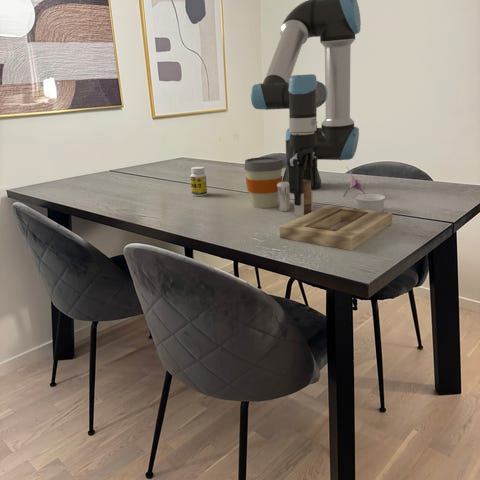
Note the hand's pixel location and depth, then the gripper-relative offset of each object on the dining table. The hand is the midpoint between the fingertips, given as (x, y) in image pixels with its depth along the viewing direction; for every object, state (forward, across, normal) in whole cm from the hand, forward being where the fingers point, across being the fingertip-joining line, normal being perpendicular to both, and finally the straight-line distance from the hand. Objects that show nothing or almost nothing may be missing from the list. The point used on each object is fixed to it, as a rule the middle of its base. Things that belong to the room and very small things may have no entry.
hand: (303, 213), depth 141 cm
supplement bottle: (+2, +10, +51) cm, 52 cm away
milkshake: (+2, +6, +10) cm, 11 cm away
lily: (+2, +33, -1) cm, 33 cm away
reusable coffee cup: (+2, +8, +20) cm, 22 cm away
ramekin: (+2, +18, -13) cm, 22 cm away
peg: (0, 0, 0) cm, 0 cm away
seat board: (+1, -6, -14) cm, 16 cm away
